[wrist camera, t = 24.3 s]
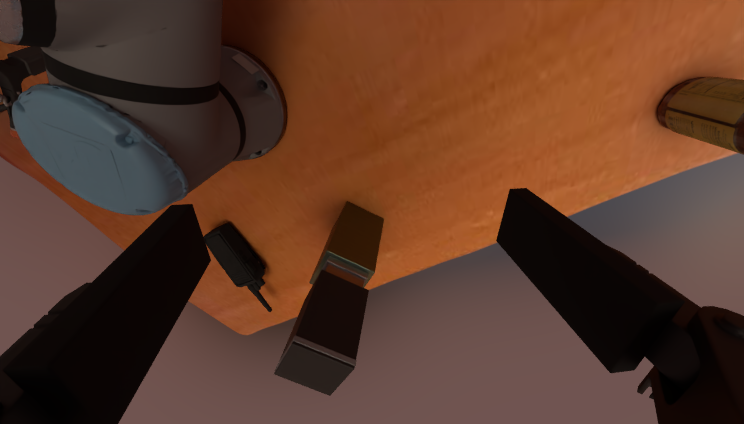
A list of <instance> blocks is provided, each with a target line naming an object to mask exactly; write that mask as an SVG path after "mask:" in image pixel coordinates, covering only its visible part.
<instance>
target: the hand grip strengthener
mask: <svg viewBox="0 0 744 424" xmlns="http://www.w3.org/2000/svg"><path fill="white" fill-rule="evenodd" d="M7 56H8V59H5V60H0V87H1V90H2V93H3V95H2V94H0V102H1V101H2V100H3V103H4V104H5V106H6V107H7V111H8V114H9V118H10V132H11V136H12V137H15V138H20V137H19V135H18V134H17V131H16V129H15V126H14V123H13V118H12V106H13V103H14V102H15V101H17V100H18V97H19V95H20V94H21V93H22V88H21V83H22V81H23V79H25V78H26V77H28V76H30V75H34V76H35V75H37V74H40V73H42V72H44V71H46V68H45V64H44V60H43V56H42V52H41V49H40V47H35V46H31V47H27V48H24V49H21V50H18V51H15V52H12V53H9V54H7Z"/></svg>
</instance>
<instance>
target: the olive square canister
mask: <svg viewBox="0 0 744 424" xmlns="http://www.w3.org/2000/svg"><path fill="white" fill-rule="evenodd" d="M383 222H384V219H383V218H380V217H378V216H376V215H374V214H372V213H370V212H368V211H366V210H364V209H362V208H360V207H358V206H356V205H354V204H352V203H350V202H348V201H347V202H346V204H345V206H344V208H343V210H342V212H341V213H340V215H339V217H338V219H337V221H336V223H335V225H334V227H333V229H332V231H331V233H330V235H329V238H328V240H327V242H326V245H325V247H324V249H323V252H322V254H321V257H320V259H319V261H318V264H317V266H316V268H315V271H314V273H313V275H312V278H311V280H310V282H309V283H310V284H314V282H315V281H316V279H317V277H318V275H319V273H320V272H321V270H325V271H327V272H329V273H331V274H333V275H336V276H338V277H340V278H342V279H345V280H347V281H349V282H351V283H354V284H356V285H358V286H360V287H362V288H364V287H365V285H366V284H367V283H368V281H369V280H370V278H371V277H372V276H373V274H374V273H375V268H376V262H377V256H378V251H379V245H380V239H381V233H382V228H383Z"/></svg>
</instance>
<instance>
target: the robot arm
mask: <svg viewBox="0 0 744 424" xmlns="http://www.w3.org/2000/svg"><path fill="white" fill-rule="evenodd" d="M222 5H223V0H0V40H1V41H2V42H4V43H9V44H14V45H24V46H35V47H40V49H41V52H42V56H43V60H44V64H45V68H46V72H47V75H48V79H49V84H37V85H35V86H31V87H30V88H29V89H28V90H27V91H25V92H22V93H21V94H20V95H19V97H18V100H17V101H15V102H14V103H13V106H12V118H13V123H14V126H15V129H16V131H17V134H18V135H19V137H20V139H21V141H22V143H23V144H24V146H25V147H26V149H27V150H28V151H29V153H30V154H31V155H32V157H33V158H34V159H35V160H36V161H37V162H38V163H39V164H40V165H41V167H42V168H43V169H44V170H45V171H47V172H48V173H49V174H50V175H51V176H52V177H53V178H54V179H56V180H57V181H58V182H60V183H61V184H62V185H64V186H65V187H66V188H67V189H69V190H70V191H72V192H73V193H75V194H76V195H78V196H79V197H81V198H83V199H85V200H87V201H88V202H90V203H92V204H95V205H97V206H99V207H102V208H104V209H107V210H110V211H113V212H117V213H121V214H128V215H146V214H151V213H155V212H157V211H159V210H161V209H163V208H165V207H166V206H168V205H170V204H171V203H173V202H176V201H179V200H182V199H183V198H184V197H185V196H186V195H187V194H188V193H189V192H191V191H192V190H193V189H195V188H196V187H198V186H199V185H200V184H202V183H203V182H204V181H206V180H207V179H208V178H210V177H211V176H212V175H214V174H215V173H217V172H218V171H219V170H221V169H222V168H223V167H225V166H226V165H227V164H229V163H230V162H232V161H240V160H248V159H254V158H258V157H260V156H262V155H264V154H266V153H268V152H269V151H270V150H271V149H273V148H274V147H275V146H276V145H277V144H278V143H279V141H280V140H281V138H282V136H283V134H284V132H285V129H286V124H287V106H286V101H285V98H284V95H283V92H282V89H281V87H280V85H279V83H278V82H277V80H276V78H275V77H274V75H273V74H272V73H271V71H270V70H269V69H268V68H267V67H266V66H265V65H264V64H263V63H262V62H261V61H260V60H259V59H258V58H256V57H255V56H253V55H252V54H250V53H249V52H247V51H245V50H243V49H240V48H238V47H234V46H229V45H221V32H222ZM4 110H7V107H6V106H5V104H3V105H0V112H1V111H4ZM496 241H497V242H498V243H499V244H500V246H501V247H502V248H503V249H504V250H505V251H506V252H507V254H508V255H509V256H510V257H511V258H512V260H513V261H514V262H515V263H516V264H517V265H518V266H519V268H520V269H521V270H522V271H523V272H524V274H525V275H526V276H527V277H528V278H529V279H530V280H531V282H532V283H533V284H534V285H535V286H536V287H537V289H538V290H539V291H540V292H541V293H542V294H543V295H544V297H545V298H546V299H547V300H548V301H549V303H550V304H551V305H552V306H553V307H554V308H555V309H556V311H557V312H558V313H559V314H560V315H561V316H562V318H563V319H564V320H565V321H566V322H567V323H568V325H569V326H570V327H571V328H572V329H573V330H574V331H575V333H576V334H577V335H578V336H579V337H580V338H581V340H582V341H583V342H584V343H585V344H586V345H587V347H588V348H589V349H590V350H591V351H592V352H593V354H594V355H595V356H596V357H597V358H598V359H599V360H600V362H601V363H602V364H603V365H604V366H605V367H606V369H607V370H608V371H609V372H610V373H616V372H624V371H631V370H635V369H636V367H637V366H638V365H639V363H640V362H641V361H642V359H643V358H644V356H645V357H646V358H647V359H648V360H649V361H650V362H651V363H652V364H653V365H654V367H653V368H652V369H651V370H650V372H649V373H648V375H647V376H646V377H645V378H644V379H643V381H642V382H641V383H640V385H639V386H638V390H637V392H638V393H640V394H643V392H644V391H645V390H646V389H647V388H648V387H649V386H650V387H652V394H651V395H650V396H649V398H652V399H654V402H655V408H656V413H657V419H658V424H744V316H742V315H740V314H738V313H735V312H732V311H729V310H727V309H723V308H718V307H714V306H708V307H707V306H704V307H702V308H701V307H699V306H698V305H696V304H695V303H693V302H692V301H690V300H689V299H688V298H686V297H685V296H683V295H682V294H680V293H679V292H678V291H676V290H675V289H673V288H672V287H670V286H669V285H668V284H666V283H665V282H663V281H662V280H660V279H659V278H658V277H656V276H655V275H653V274H649V271H648V270H646V269H645V268H643V267H642V266H640V265H637V264H636V262H635V261H633V260H632V259H630V258H629V257H628V256H626V255H625V254H623V253H622V252H620V251H618V250H616V249H613V248H611V247H609V246H607V245H605V244H604V243H602V242H601V241H600V240H598V239H597V238H595V237H594V236H593V235H591V234H590V233H588V232H587V231H586V230H584V229H583V228H581V227H580V226H579V225H577V224H576V223H574V222H573V221H572V220H570V219H569V218H567V217H566V216H565V215H563V214H562V213H560V212H559V211H558V210H556V209H555V208H553V207H552V206H551V205H549V204H548V203H546V202H545V201H544V200H542V199H541V198H539V197H538V196H536V195H535V194H534V193H532V192H531V191H529V190H528V189H527V188H520V189H510V191H509V194H508V198H507V202H506V206H505V210H504V213H503V217H502V221H501V225H500V229H499V232H498V236H497V240H496ZM210 261H211V259H210V256H209V253H208V250H207V247H206V244H205V241H204V238H203V235H202V232H201V229H200V226H199V223H198V220H197V217H196V214H195V211H194V208H193V205H192V204H185V205H171V206H170V207H169V208H168V209H167V210H166V211H165V212H164V213H163V214H162V215H161V216H160V217H159V218H158V219H156V220H155V221H154V222H153V223H152V224H151V225H150V226H149V227H148V228H147V229H146V230H145V231H144V232H143V233H142V234H141V235H140V236H139V237H138V238H137V239H136V240H135V241H134V242H133V243H132V244H131V245H130V246H129V247H128V248H127V249H126V250H125V251H124V252H123V253H122V254H121V255H120V256H119V257H118V258H117V259H116V260H115V261H113V262H112V263H111V264H110V265H109V266H108V267H107V268H106V269H105V270H104V271H103V272H102V273H101V274H100V275H99V276H98V277H97V278H96V279H95V280H94V281H93V282H92V283H86V284H84V285H82V286H81V287H79V288H78V289H76V290H74V291H73V292H71V293H69V294H68V295H66V296H65V297H64V298H63V299H61V300H60V301H59V302H58V303H57V304H56V305H55V306H54V307H53V308H52V309H51V310H50V311H49V312H48V315H44V316H43V317H42V318H41V319H40V320H39V321H38V322H37V323H36V324H35V325H34V328H33V329H29V330H28V331H27V332H26V333H25V334H24V335H23V336H22V337H21V338H20V339H18V340H17V341H16V342H15V343H14V344H13V345H12V346H11V347H10V348H9V349H8V350H7V351H5V352H4V353H3V354H2V355H1V356H0V424H118V423H119V421H120V419H121V418H122V416H123V414H124V412H125V411H126V409H127V407H128V405H129V403H130V402H131V400H132V398H133V397H134V395H135V393H136V391H137V390H138V388H139V386H140V384H141V382H142V381H143V379H144V377H145V376H146V374H147V372H148V370H149V368H150V367H151V365H152V363H153V361H154V360H155V358H156V356H157V354H158V353H159V351H160V349H161V347H162V345H163V344H164V342H165V340H166V338H167V337H168V335H169V333H170V332H171V330H172V328H173V326H174V325H175V323H176V321H177V319H178V317H179V316H180V314H181V312H182V310H183V309H184V307H185V305H186V303H187V302H188V300H189V298H190V296H191V295H192V293H193V291H194V289H195V288H196V286H197V284H198V282H199V281H200V279H201V277H202V275H203V274H204V272H205V270H206V268H207V266H208V265H209V263H210Z"/></svg>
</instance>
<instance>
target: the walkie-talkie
mask: <svg viewBox="0 0 744 424" xmlns="http://www.w3.org/2000/svg"><path fill="white" fill-rule="evenodd" d="M203 238H204V241H205V243H206V245H207V246H208V248H209V249H210V251H211V252H212V254H213V255H214V257H215V258H216V260H217V261H218V262H219V264H220V265H221V266H222V268H223V269H224V270H225V271H226V273H227V274H228V276H229V277H230V279H231V280H232V281H233V283H234V284H235V285H236V286H237V287H243V286H248V289H249V290H250V291H251V292H252V293H253V294H254V295H255V296H256V297H257V298H258V300H259V301H260V302H261V303H262V304H263V306H264V307H265V308H266V309H267V310H268V311H269V312H271V311H272V308H271V307H270V306H269V304H268V303H267V302H266V300H265V299H264V298H263V296H262V295H261V294H260V292H259V290H260V289H261V286H263V285H264V284H265V282H264V280H263V279H262V276H263V275H264V269H265V266H264V265H263V263H262V262H261V261H260V259H259V258H258V257H257V256H256V254H255V253H254V252H253V251H252V250H251V249H250V248H249V246H248V245H247V244H246V243H245V242H244V241H243V240H242V239H241V237H240V236H239V235H238V234H236V232H235V231H234V230H233V229H232V227H231V226H230V225H229V224H228V223H226V224H224V225H222V226H220V227H218V228H216V229H213V230H212V231H210V232H209V233H208V234H206V235H205V236H204V237H203Z"/></svg>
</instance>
